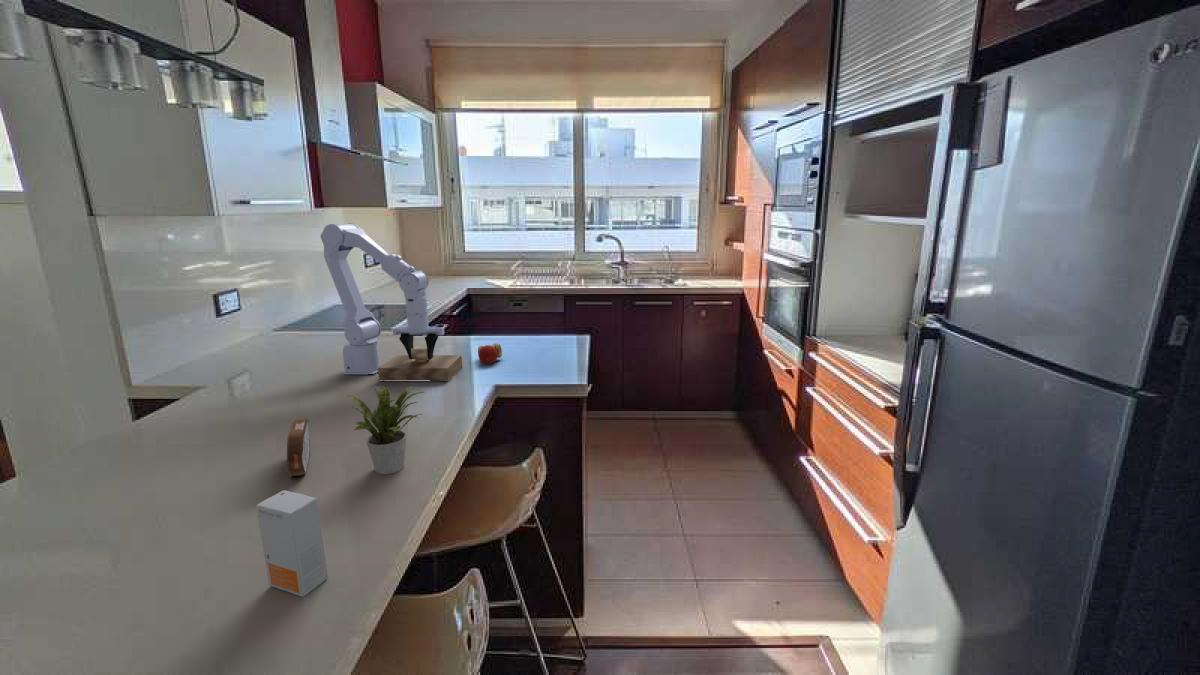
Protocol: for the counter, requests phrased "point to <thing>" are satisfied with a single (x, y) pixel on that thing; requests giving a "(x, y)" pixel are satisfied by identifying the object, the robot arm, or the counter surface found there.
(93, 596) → the counter surface
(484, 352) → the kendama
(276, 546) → the skincare box
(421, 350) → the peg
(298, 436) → the tin
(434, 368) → the board
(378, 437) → the house plant
